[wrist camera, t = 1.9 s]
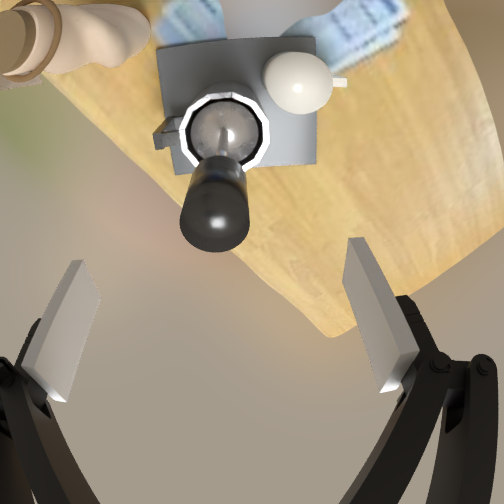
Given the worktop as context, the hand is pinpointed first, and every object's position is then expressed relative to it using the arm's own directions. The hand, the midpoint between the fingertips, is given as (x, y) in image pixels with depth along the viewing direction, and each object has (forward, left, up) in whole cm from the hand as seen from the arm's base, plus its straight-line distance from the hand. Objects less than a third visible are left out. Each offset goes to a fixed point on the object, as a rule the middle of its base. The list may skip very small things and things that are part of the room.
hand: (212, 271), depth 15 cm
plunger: (0, 0, -23) cm, 23 cm away
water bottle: (-14, -14, -35) cm, 40 cm away
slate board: (-1, +2, -35) cm, 35 cm away
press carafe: (0, -2, -34) cm, 34 cm away
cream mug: (-5, +10, -34) cm, 36 cm away
